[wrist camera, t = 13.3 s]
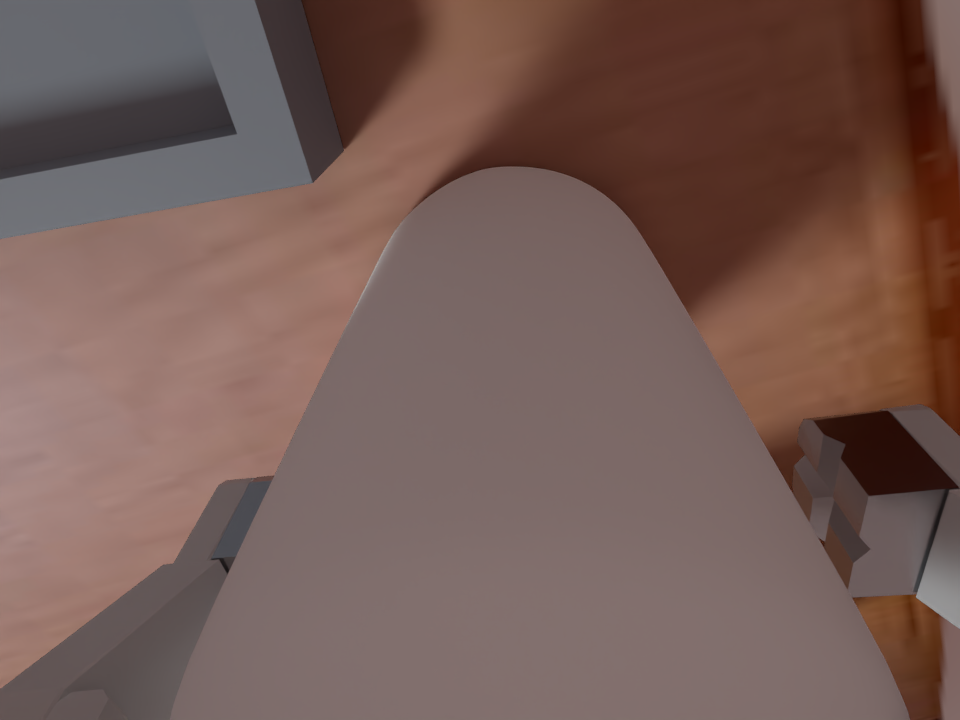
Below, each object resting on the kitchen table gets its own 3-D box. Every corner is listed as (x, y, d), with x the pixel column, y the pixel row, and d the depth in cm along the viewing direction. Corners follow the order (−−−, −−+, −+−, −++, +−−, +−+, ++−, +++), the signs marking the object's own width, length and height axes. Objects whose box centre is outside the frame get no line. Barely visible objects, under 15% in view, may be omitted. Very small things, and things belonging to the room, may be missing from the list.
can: (593, 104, 12) (1086, 682, 2) (687, 357, 15) (1082, 1132, 5) (324, 237, 14) (-205, 940, 4) (455, 443, 17) (376, 1159, 6)
